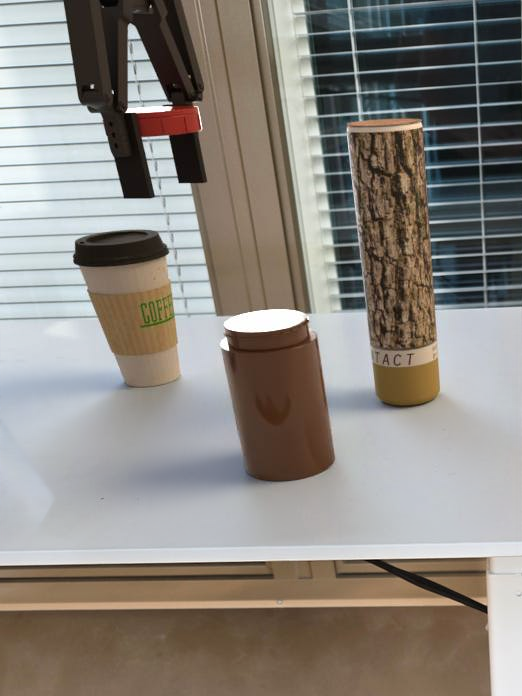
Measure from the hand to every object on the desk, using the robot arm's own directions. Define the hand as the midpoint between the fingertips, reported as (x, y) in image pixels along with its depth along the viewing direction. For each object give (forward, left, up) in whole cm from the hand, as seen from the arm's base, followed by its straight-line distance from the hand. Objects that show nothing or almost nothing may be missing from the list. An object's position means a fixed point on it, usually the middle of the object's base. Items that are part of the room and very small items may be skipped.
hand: (167, 189), depth 82 cm
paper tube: (+21, +2, -21) cm, 29 cm away
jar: (+13, -15, -20) cm, 28 cm away
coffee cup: (-10, +9, -21) cm, 25 cm away
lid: (0, 0, +6) cm, 6 cm away
